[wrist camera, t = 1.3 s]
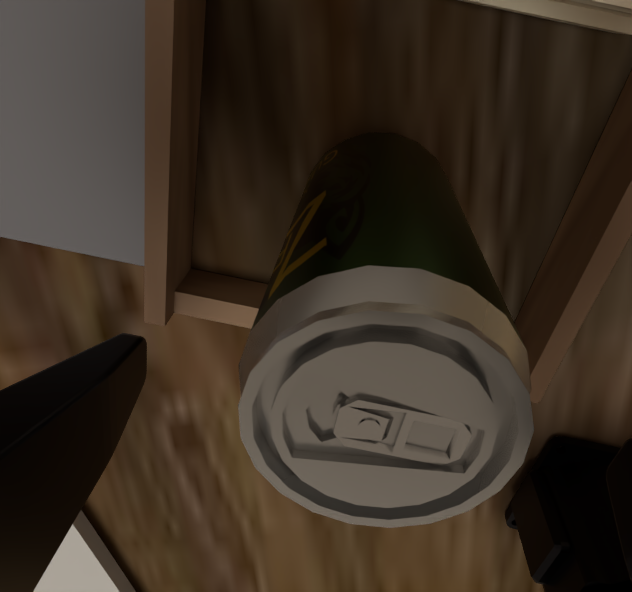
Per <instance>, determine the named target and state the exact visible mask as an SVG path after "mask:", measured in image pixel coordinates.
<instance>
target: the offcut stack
mask: <svg viewBox="0 0 632 592" xmlns="http://www.w3.org/2000/svg"><path fill="white" fill-rule="evenodd" d="M458 1H462V2H467V3H472V4H477V5H481V6H486V7H491V8H496V9H501V10H505V11H510V12H515V13H520V14H524V15H529V16H534V17H539V18H544V19H548V20H553V21H558V22H563V23H567V24H572V25H577V26H582V27H586V28H591V29H596V30H601V31H606V32H610V33H617V34H629V35H632V0H458Z"/></svg>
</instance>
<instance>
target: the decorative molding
mask: <svg viewBox="0 0 632 592" xmlns="http://www.w3.org/2000/svg"><path fill="white" fill-rule="evenodd" d="M33 592H136V591H135V590H134V588H133V587H132V585H131V584H130V582H129V581H128V579H127V578H126V576H125V575H124V573H123V572H122V570H121V569H120V567H119V566H118V564H117V563H116V561H115V560H114V558H113V557H112V555H111V554H110V552H109V551H108V549H107V548H106V546H105V545H104V543H103V542H102V540H101V539H100V537H99V536H98V534H97V533H96V531H95V530H94V528H93V527H92V525H91V524H90V522H89V521H88V519H87V518H86V516H85V515H84V513H83V512H82V510H81V511H80V512H79V514H78V516H77V518H76V519H75V521H74V523H73V524H72V526H71V528H70V530H69V531H68V533H67V535H66V536H65V538H64V540H63V542H62V543H61V545H60V547H59V548H58V550H57V552H56V554H55V555H54V557H53V559H52V560H51V562H50V564H49V566H48V567H47V569H46V571H45V572H44V574H43V576H42V578H41V579H40V581H39V583H38V584H37V586H36V588H35V589H34V591H33Z"/></svg>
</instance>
